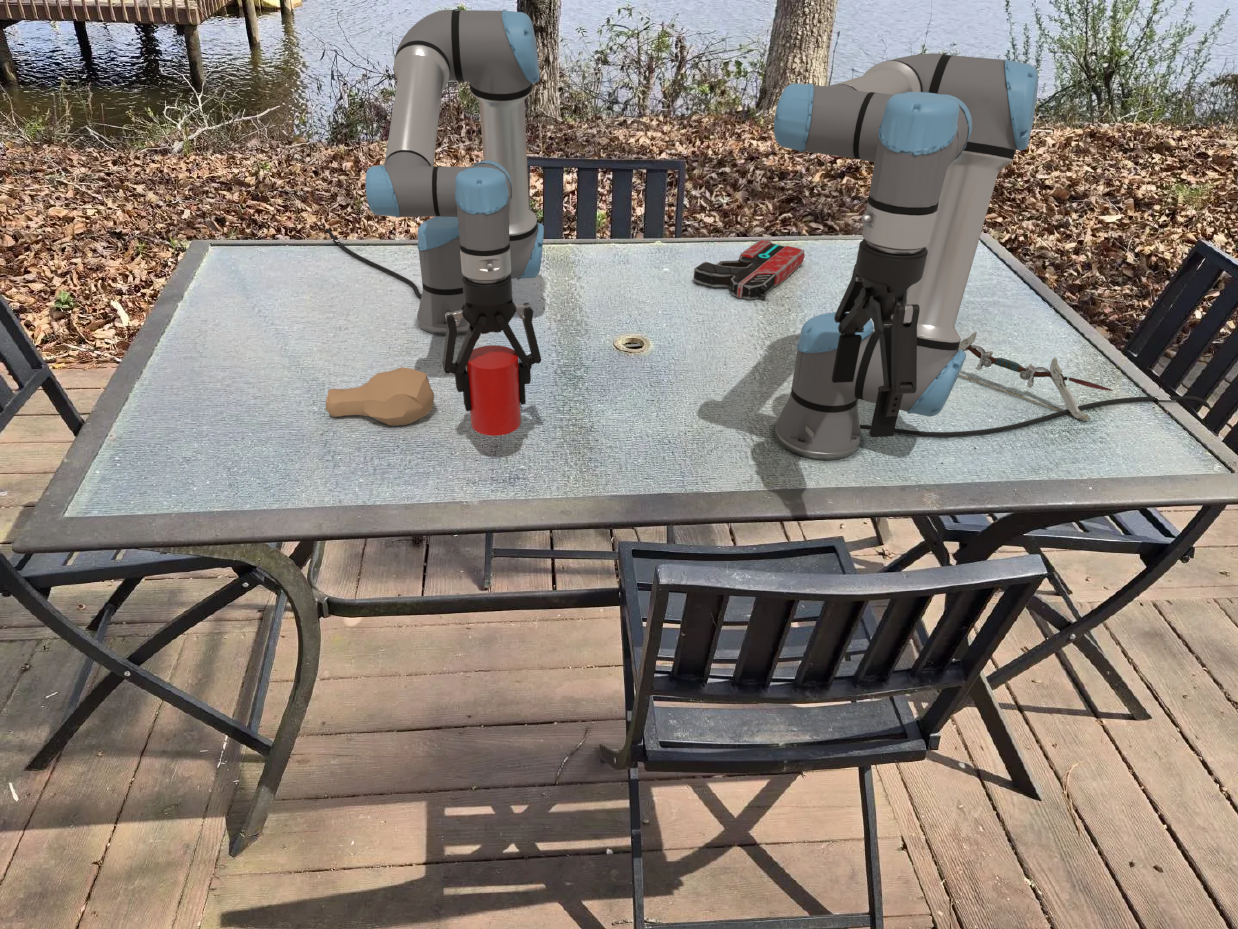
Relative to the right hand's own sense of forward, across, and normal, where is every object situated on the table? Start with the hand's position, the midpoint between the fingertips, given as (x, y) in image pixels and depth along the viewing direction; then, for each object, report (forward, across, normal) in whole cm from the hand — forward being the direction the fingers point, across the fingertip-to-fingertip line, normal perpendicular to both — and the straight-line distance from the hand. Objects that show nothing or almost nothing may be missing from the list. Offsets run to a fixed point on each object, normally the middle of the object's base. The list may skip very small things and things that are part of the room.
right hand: (860, 406), depth 110 cm
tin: (+23, -38, -46) cm, 64 cm away
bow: (+29, -52, +54) cm, 81 cm away
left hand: (+19, -38, -46) cm, 63 cm away
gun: (+29, -116, +19) cm, 121 cm away
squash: (+29, -53, -67) cm, 90 cm away
